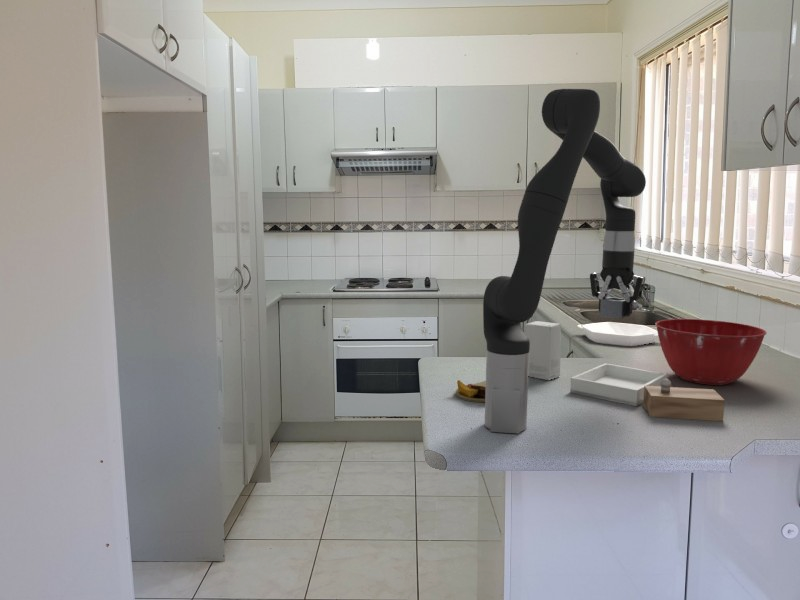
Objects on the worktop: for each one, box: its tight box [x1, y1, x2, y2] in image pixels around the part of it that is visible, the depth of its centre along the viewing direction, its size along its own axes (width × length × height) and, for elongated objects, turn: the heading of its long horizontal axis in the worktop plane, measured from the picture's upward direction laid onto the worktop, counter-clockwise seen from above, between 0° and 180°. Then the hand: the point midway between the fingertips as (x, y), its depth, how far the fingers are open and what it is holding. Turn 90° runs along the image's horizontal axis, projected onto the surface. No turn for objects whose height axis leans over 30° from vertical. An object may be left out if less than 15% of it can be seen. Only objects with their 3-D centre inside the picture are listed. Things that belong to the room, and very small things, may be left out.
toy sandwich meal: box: [455, 379, 486, 403], centre depth 169 cm, size 12×14×5 cm
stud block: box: [642, 379, 726, 422], centre depth 156 cm, size 9×16×8 cm, turn 79°
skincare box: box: [524, 320, 562, 381], centre depth 188 cm, size 8×7×16 cm
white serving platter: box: [577, 321, 659, 347], centre depth 243 cm, size 31×25×4 cm
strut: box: [599, 296, 639, 319], centre depth 172 cm, size 6×16×4 cm, turn 139°
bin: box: [569, 362, 669, 407], centre depth 175 cm, size 22×18×4 cm
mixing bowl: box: [655, 318, 767, 386], centre depth 187 cm, size 28×28×16 cm
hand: (614, 314), depth 168 cm, fingers closed on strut, 5 cm apart
